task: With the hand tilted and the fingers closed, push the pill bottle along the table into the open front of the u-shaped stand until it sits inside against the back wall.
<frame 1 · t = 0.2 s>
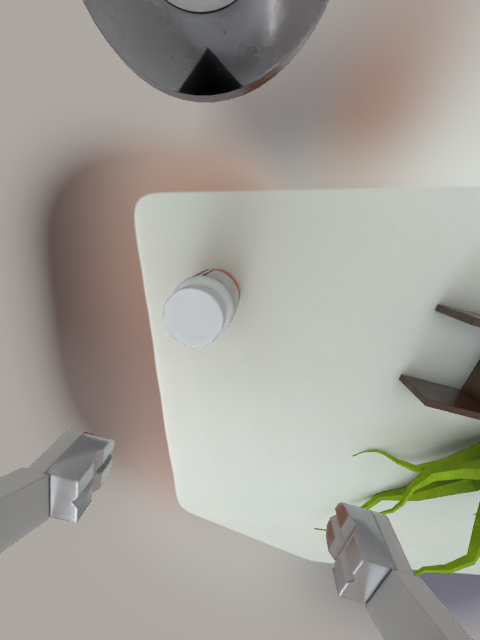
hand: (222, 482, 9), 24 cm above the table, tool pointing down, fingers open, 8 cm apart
pill bottle: (216, 292, 31), on the table
decorative plant: (413, 475, 37), on the table
u-shaped stand: (456, 353, 31), on the table
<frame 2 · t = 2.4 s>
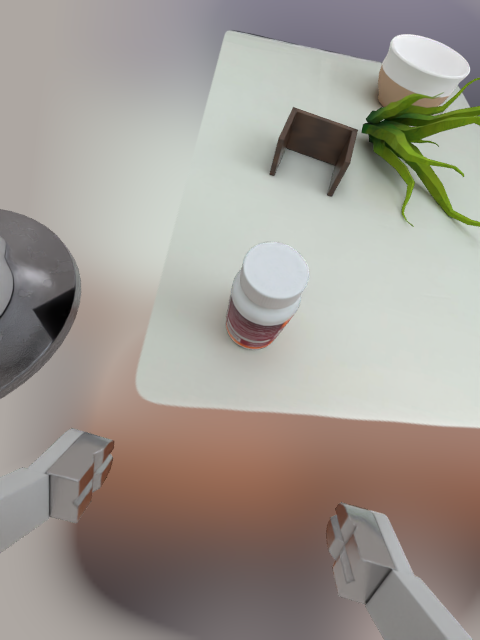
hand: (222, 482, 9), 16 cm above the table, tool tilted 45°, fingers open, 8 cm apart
pill bottle: (251, 325, 29), on the table
bowl: (400, 104, 54), on the table
decorative plant: (419, 192, 43), on the table
u-shaped stand: (306, 167, 41), on the table
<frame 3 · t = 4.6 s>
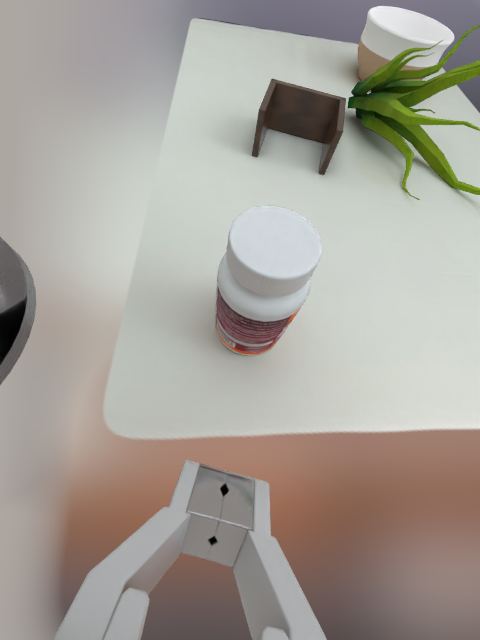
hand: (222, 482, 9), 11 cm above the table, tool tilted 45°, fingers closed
pill bottle: (247, 326, 23), on the table
bowl: (382, 81, 51), on the table
decorative plant: (417, 166, 39), on the table
u-shaped stand: (292, 146, 37), on the table
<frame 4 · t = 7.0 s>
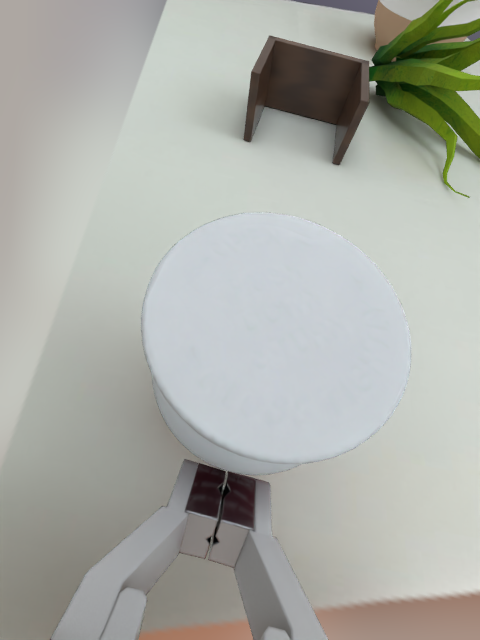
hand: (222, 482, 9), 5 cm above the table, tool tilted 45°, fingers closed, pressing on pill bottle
pill bottle: (232, 397, 15), on the table, touching gripper
bowl: (403, 55, 42), on the table
decorative plant: (457, 154, 30), on the table
u-shaped stand: (297, 128, 28), on the table
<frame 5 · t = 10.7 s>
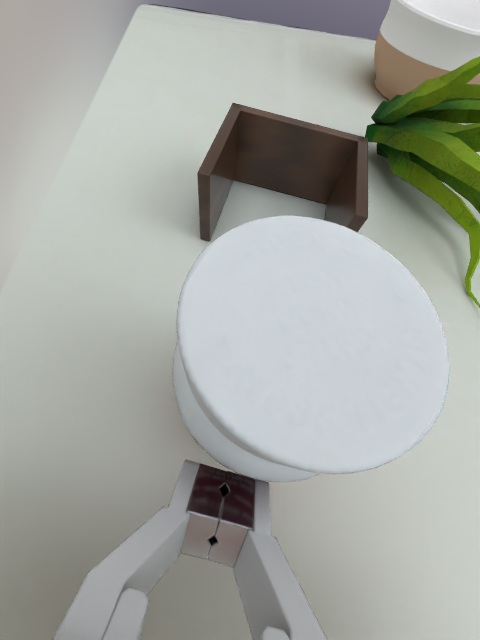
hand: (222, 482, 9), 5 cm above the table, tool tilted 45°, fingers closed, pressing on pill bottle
pill bottle: (242, 400, 15), on the table, touching gripper
bowl: (409, 93, 36), on the table
u-shaped stand: (274, 213, 22), on the table
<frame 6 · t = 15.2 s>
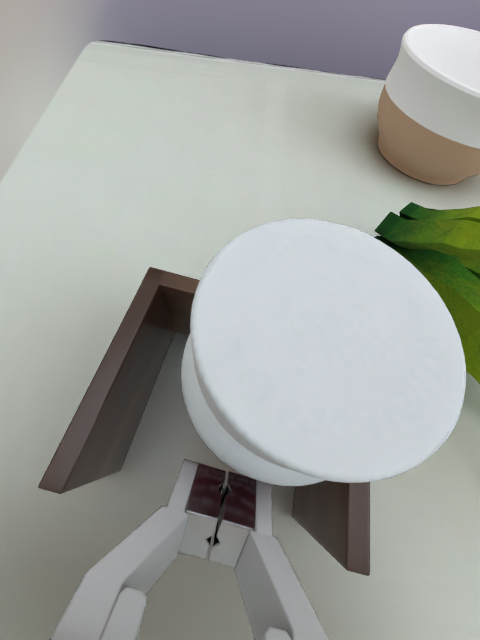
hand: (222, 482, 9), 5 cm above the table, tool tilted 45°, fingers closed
pill bottle: (247, 401, 15), on the table, touching u-shaped stand, gripper
bowl: (420, 155, 29), on the table
u-shaped stand: (230, 395, 15), on the table
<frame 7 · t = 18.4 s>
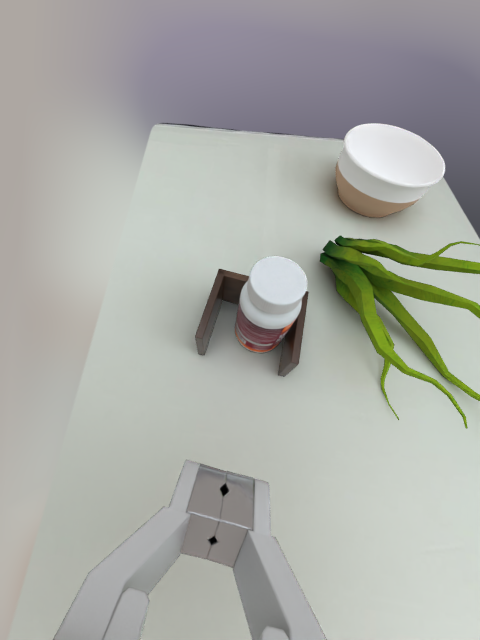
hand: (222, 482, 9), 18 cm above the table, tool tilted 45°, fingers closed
pill bottle: (257, 331, 31), on the table, touching u-shaped stand
bowl: (365, 197, 45), on the table
decorative plant: (401, 340, 33), on the table
u-shaped stand: (250, 328, 31), on the table
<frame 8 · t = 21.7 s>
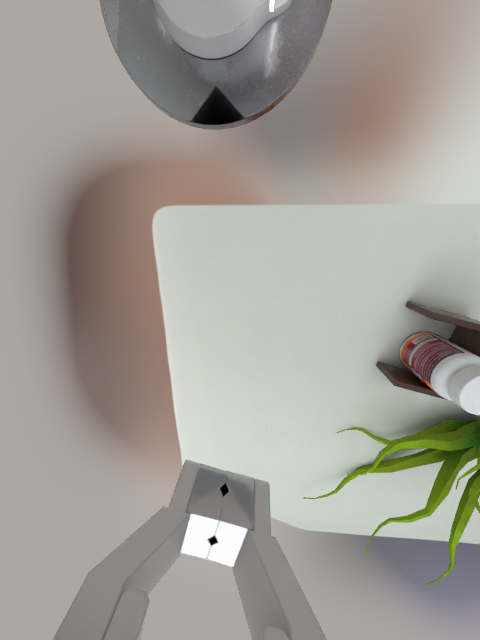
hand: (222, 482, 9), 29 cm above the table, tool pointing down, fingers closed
pill bottle: (419, 349, 37), on the table, touching u-shaped stand
decorative plant: (389, 451, 43), on the table
u-shaped stand: (423, 343, 36), on the table
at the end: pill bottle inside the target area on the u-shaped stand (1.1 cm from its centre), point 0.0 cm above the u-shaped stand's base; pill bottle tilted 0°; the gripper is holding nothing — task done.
